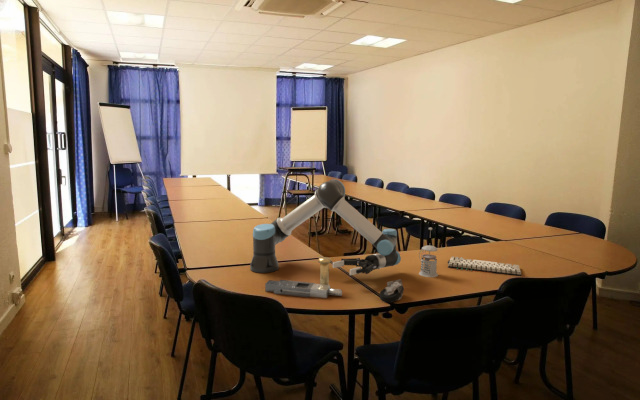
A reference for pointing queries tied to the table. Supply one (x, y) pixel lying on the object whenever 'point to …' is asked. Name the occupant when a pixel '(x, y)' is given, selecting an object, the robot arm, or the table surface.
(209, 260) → the table surface
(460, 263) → the mechanical keyboard
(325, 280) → the clevis pin
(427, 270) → the french press
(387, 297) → the caster wheel
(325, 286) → the clevis
